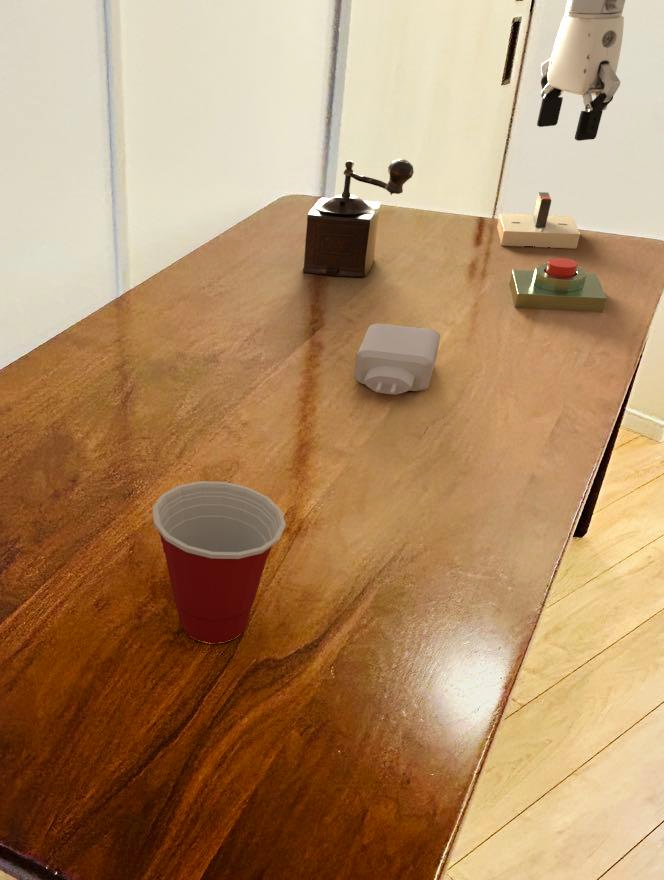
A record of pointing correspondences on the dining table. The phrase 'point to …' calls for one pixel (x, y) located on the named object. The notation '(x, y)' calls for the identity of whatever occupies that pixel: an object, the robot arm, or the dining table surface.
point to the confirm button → (561, 267)
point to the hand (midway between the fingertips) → (565, 132)
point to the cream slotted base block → (538, 231)
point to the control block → (557, 291)
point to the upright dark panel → (542, 209)
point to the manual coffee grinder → (348, 226)
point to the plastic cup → (216, 553)
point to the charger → (396, 358)
